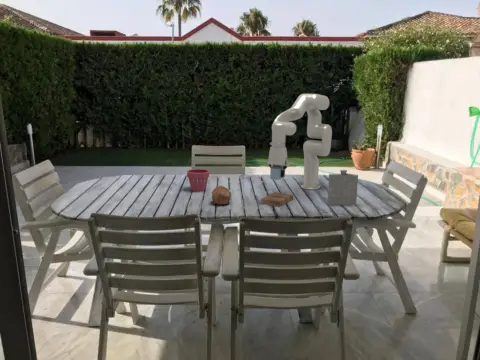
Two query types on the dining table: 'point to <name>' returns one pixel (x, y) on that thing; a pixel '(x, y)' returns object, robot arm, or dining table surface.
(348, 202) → the hip flask
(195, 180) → the plant pot
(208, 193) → the dining table surface
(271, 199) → the stand
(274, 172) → the block
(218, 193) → the decorative rock
